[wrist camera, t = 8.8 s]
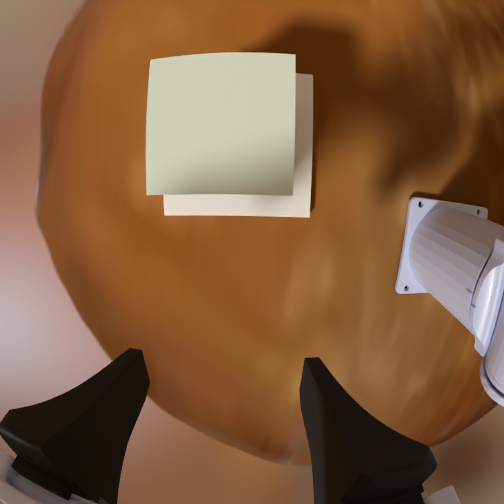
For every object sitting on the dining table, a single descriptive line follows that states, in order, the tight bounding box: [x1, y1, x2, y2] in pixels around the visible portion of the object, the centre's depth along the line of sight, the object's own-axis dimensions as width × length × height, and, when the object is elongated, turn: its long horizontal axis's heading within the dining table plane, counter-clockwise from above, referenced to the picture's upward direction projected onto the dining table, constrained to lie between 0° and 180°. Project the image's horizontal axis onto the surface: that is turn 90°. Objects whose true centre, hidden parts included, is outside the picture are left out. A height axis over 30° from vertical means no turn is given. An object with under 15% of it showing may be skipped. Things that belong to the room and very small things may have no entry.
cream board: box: [164, 73, 313, 217], centre depth 18 cm, size 10×10×1 cm
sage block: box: [146, 52, 295, 196], centre depth 11 cm, size 5×5×4 cm
